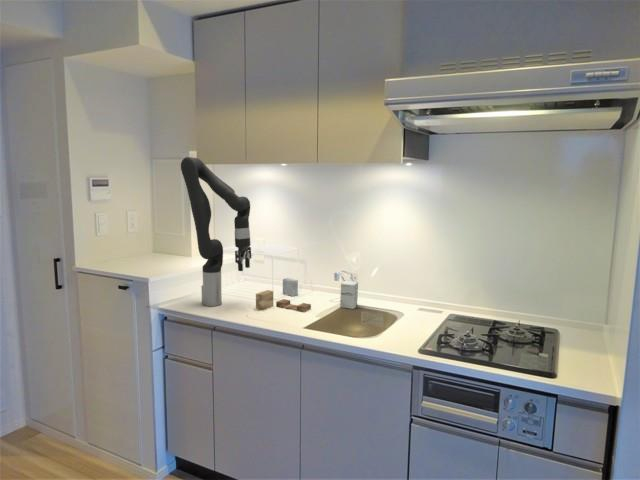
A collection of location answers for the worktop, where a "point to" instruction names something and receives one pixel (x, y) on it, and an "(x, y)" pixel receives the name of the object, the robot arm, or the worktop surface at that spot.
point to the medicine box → (290, 286)
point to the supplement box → (349, 294)
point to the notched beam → (287, 305)
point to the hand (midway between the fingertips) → (244, 269)
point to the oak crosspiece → (264, 300)
